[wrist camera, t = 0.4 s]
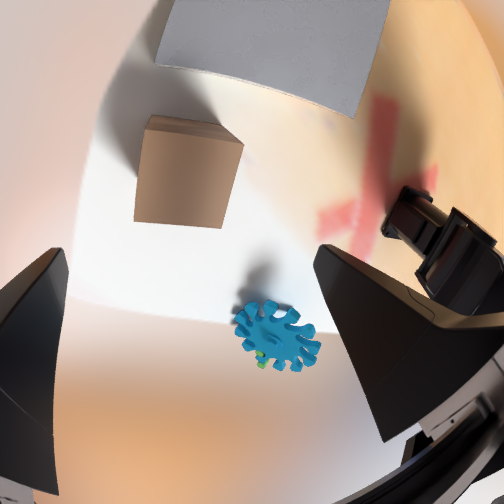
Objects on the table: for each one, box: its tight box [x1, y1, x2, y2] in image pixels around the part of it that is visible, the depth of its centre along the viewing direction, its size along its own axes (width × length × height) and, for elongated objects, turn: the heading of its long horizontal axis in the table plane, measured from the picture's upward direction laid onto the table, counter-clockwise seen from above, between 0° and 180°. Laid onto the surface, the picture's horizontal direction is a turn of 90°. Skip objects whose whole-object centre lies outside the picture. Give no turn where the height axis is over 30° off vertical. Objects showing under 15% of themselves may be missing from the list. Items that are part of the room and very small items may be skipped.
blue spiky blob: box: [234, 300, 321, 372], centre depth 30 cm, size 11×6×10 cm
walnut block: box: [134, 115, 244, 229], centre depth 16 cm, size 5×5×6 cm
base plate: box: [154, 0, 391, 119], centre depth 12 cm, size 14×14×2 cm
